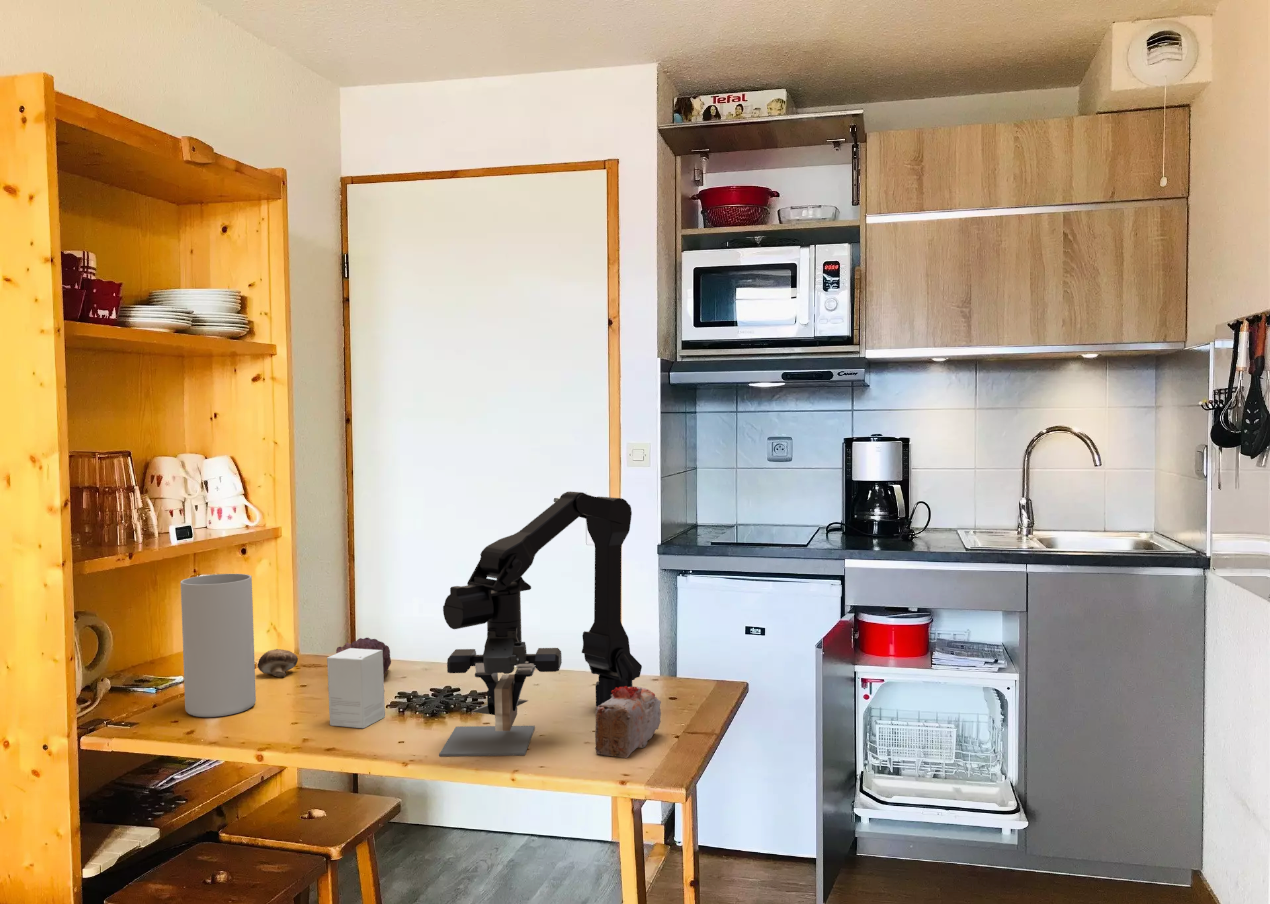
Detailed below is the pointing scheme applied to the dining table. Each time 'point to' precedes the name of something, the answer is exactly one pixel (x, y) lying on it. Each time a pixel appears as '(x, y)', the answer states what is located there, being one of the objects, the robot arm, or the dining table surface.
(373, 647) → the pine cone
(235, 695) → the cylinder vase
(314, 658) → the dining table surface
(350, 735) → the dining table surface
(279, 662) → the mushroom
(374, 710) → the supplement box
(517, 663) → the robot arm
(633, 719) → the food item
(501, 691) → the tile
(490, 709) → the black angular block
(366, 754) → the dining table surface
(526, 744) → the mat
